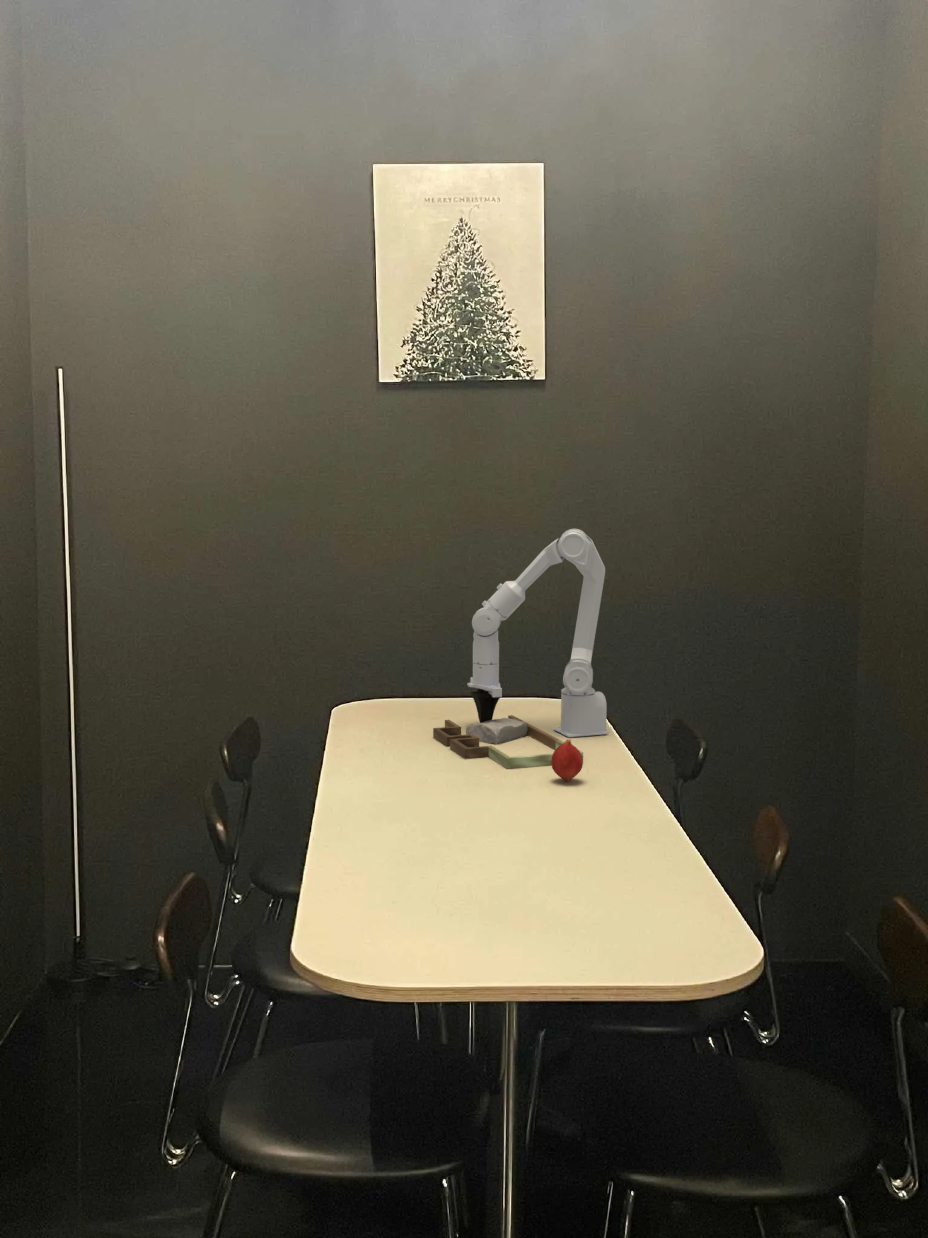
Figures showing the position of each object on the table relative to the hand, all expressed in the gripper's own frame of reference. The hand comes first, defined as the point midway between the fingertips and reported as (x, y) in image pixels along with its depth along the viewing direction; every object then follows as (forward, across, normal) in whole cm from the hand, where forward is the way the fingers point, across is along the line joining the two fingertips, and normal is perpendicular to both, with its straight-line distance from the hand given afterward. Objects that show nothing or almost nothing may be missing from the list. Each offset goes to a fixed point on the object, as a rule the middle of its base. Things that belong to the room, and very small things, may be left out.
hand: (485, 724), depth 264 cm
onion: (+2, +45, -1) cm, 45 cm away
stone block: (+2, +7, 0) cm, 7 cm away
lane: (+1, +14, -3) cm, 15 cm away
